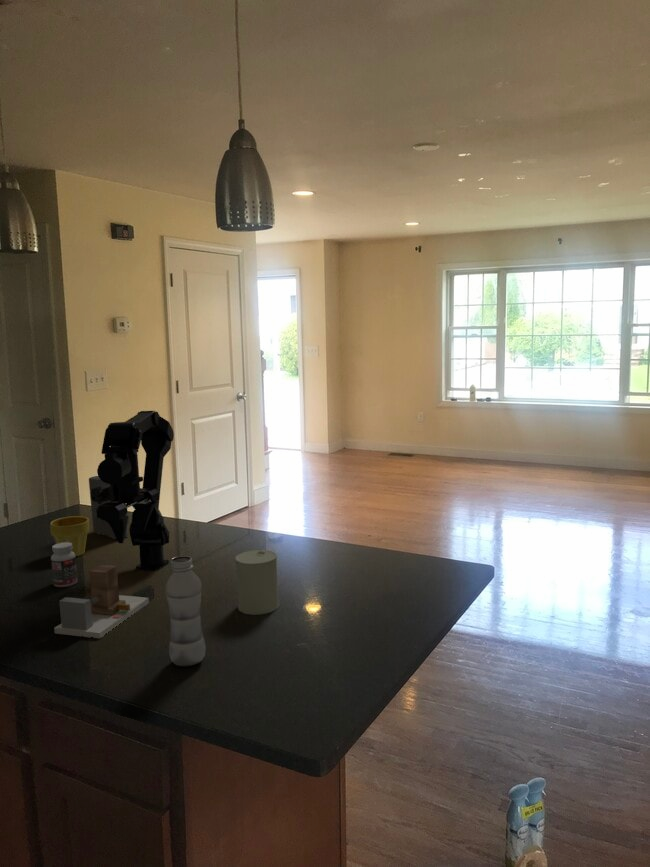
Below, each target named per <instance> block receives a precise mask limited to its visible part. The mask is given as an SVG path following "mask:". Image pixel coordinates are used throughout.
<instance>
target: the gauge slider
mask: <svg viewBox="0 0 650 867" xmlns="http://www.w3.org/2000/svg"><path fill="white" fill-rule="evenodd" d="M117 569H118V568H117V566H116V565H109V564H108V565H107V564H99V565H98V566H96V567H94V568H93V569H91V570H89V581H90V591H91V592H90V594H91V599H90V603H91V613H100V614H110V615H113V614H114V613H116V612H117V611H119V610H125V611H129V610H130V604H126V603H125V600H119V595H120V593H119V583H118V581H119V580H118V572H117V571H118V570H117Z"/></svg>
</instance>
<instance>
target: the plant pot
mask: <svg viewBox="0 0 650 867" xmlns="http://www.w3.org/2000/svg"><path fill="white" fill-rule="evenodd" d="M49 530H50V535H51V536H52V537H53V539H54V541H55V544H59V543H64V542H69V543H72V546H73V549H72V552H74V553H75V557H76V556H78V557H80V556H79V555H81V556H82V554H83V553H84V554H85V553H86V552H85V550H86V544H87V537H88V533H90V518H89V517H86V516H81V515H80V516H79V515H78V516H77V515H73V516H65V517H59V518H57V519H56V518H55V519H54V520H52V521H51V522H50V524H49ZM84 554H83V555H84ZM76 558H77V557H76Z"/></svg>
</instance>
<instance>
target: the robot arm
mask: <svg viewBox="0 0 650 867" xmlns="http://www.w3.org/2000/svg"><path fill="white" fill-rule="evenodd" d="M174 437H175V433H174V429H173V427H172V425H171V423H170V421H169V420H166V419H165V418H163V416H161V415H160V414H159V412H158V411H155V410H140V411H138V412H137V413H136V414H135V415H134V416H132V417H130V418H129V419H127V420H126V421H118V422H117V421H116V422H115V421H114V422H110V423H109V424H108V425H107V428H106V429H105V431H104V436H103V441H102V446H101V455H104V460H101V462H100V463H99V464H98V467H97V469H96V473H97V476H99V478H100V479H101V480H102V481H103V482H105V483H107V484H110V487H107V488H105V489H102V488H101V487H100V486H99V487H96V488H94V489H91V499H92V500H93V501H94V502H97V504H98V505H99V504H101V503H102V502H106V501H108V500H110V502H107V503H104V504H102V505H100V506H98V507H97V509H96V518H100V519H101V520H105V521H106V522H107V523H109V525H110V527H111V528H112V530H113V532H114V535H115V537H116V539H117V540H116V542H117V543H118V544H124V541H125V539H126V538H125V532H126V526H127V527H128V521H129V516H128V515H127V513H128V508H131V507H132V508H133V509H134V510H133V511H132V513H131V514H132V515H131V522H130V525H129V528H128V533H129V536H130V542H131V544H132V546H138V547H139V564H137V565H136V566H135V569H140V570H154V571H158V570H159V569H161V568H163V567H164V566H165V565H167V564H169V562H170V560H169V559H165V558H164V556H165V555H164V546H165V545H166V544H170V532H169V530H168V528H167V526H166V524H165V522H164V521H165V520H164V519H165V518H164V516H163V515H162V512H161V511H160V508H159V507H160V499H161V489H162V488H161V487H162V478H163V477H162V476H163V467H164V458H165V456H166V455H167V454H168V452H169V451H170V450H171V448H172V442H173V441H174ZM140 445H141V447H142V449H143V450H144V452H145V461H144V472H143V476H140V473H139V457H138V456H139V455H138V453H139V450H140ZM141 482H142V487H141V485H140V484H141ZM91 499H90V500H91ZM115 501H116V502H117V503H112V502H115ZM126 515H127V516H126ZM124 538H125V539H124Z"/></svg>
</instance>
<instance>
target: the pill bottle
mask: <svg viewBox="0 0 650 867" xmlns="http://www.w3.org/2000/svg"><path fill="white" fill-rule="evenodd" d="M72 549H73V546H72V543H69V542H64V543H59V544H56V543H55V544H54V545H52V546H51V551H52V553H53V554H52V555H51V556H50V563H51V574H52V585H54V587H57V588H66V587H71V586H73V585H75V584H76V583H77V582H78V570H77V559H76V558H77V557H75V553H74V552H72Z"/></svg>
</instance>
